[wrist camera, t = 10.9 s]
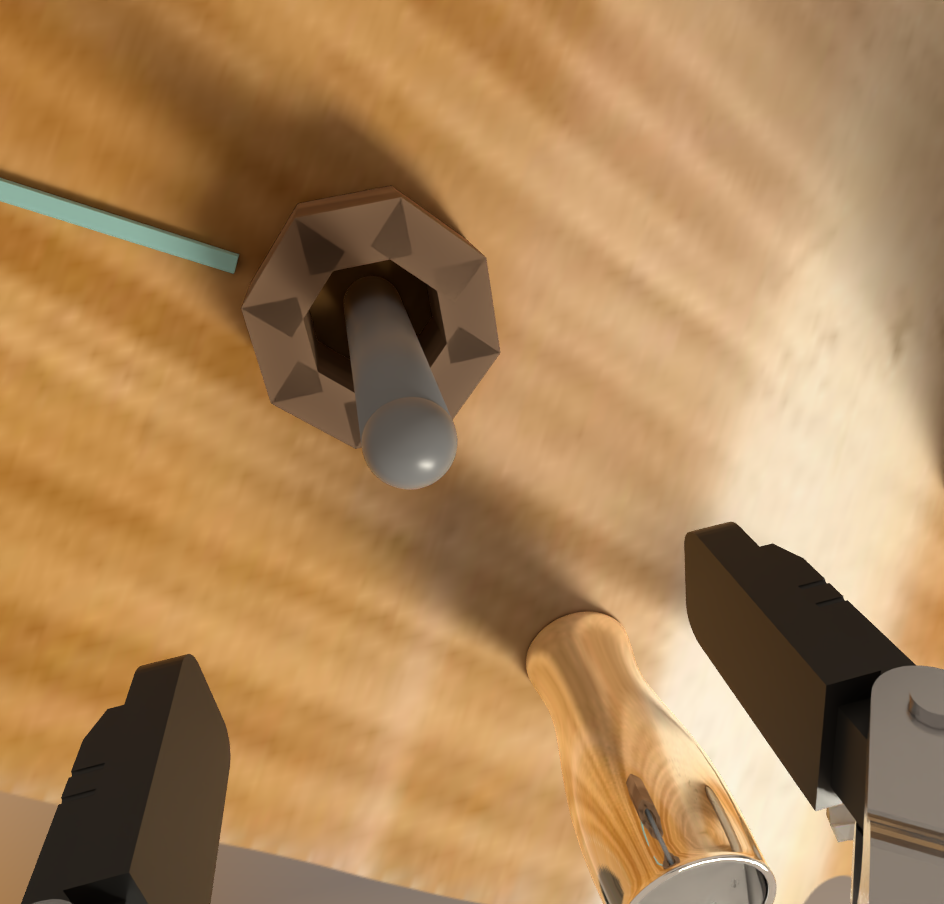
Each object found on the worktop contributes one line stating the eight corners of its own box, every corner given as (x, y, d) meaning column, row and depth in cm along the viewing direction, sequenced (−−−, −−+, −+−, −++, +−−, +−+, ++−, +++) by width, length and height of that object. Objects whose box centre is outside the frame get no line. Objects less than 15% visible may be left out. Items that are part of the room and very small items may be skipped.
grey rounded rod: (394, 270, 30) (455, 405, 17) (405, 325, 31) (472, 493, 18) (337, 282, 30) (353, 428, 16) (350, 337, 31) (376, 516, 18)
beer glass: (526, 605, 39) (633, 864, 26) (645, 601, 41) (805, 844, 27) (509, 703, 42) (598, 980, 29) (621, 696, 44) (754, 957, 30)
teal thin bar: (239, 254, 29) (238, 256, 28) (235, 271, 29) (233, 273, 29) (-49, 161, 26) (-56, 162, 25) (-52, 181, 26) (-58, 183, 25)
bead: (455, 172, 29) (474, 182, 25) (488, 380, 33) (509, 413, 30) (230, 216, 28) (217, 233, 25) (293, 424, 32) (290, 463, 29)
